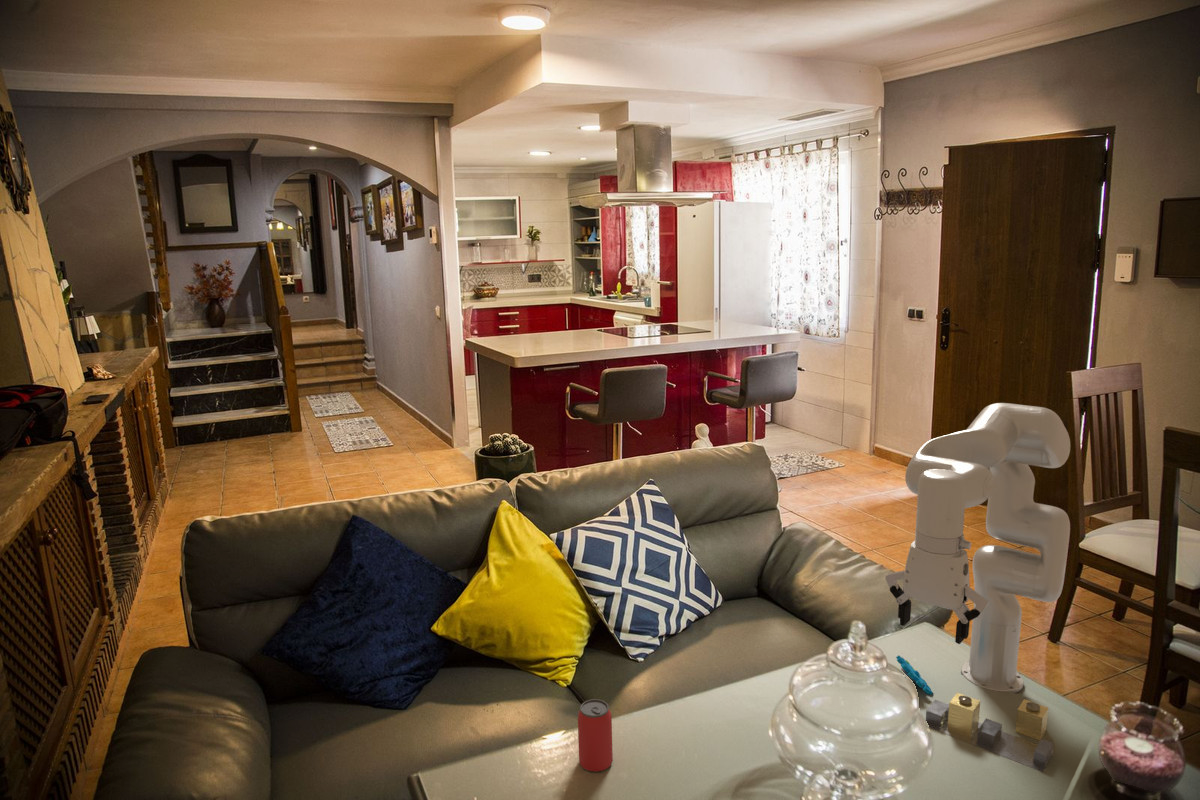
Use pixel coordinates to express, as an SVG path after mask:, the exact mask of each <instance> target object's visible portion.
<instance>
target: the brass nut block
mask: <svg viewBox="0 0 1200 800" xmlns="http://www.w3.org/2000/svg"><path fill="white" fill-rule="evenodd" d="M1049 709H1050V708H1049V706H1044V705H1042V704H1039V703H1037V702H1034V701H1030V700H1027V699H1023V700H1022V701H1021V702H1020V704H1019V706H1018V708H1017V710H1016V711H1017V712H1016V722H1015V732H1016V733H1019V734H1021V735H1024V736H1026V737H1030V738H1032V739H1036V740H1038V741H1040V740H1041V739H1043V737H1044V735H1045V733H1046V732H1047V726H1048V718H1049Z"/></svg>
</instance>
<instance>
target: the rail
mask: <svg viewBox="0 0 1200 800" xmlns="http://www.w3.org/2000/svg"><path fill="white" fill-rule="evenodd" d="M948 715H949V703H946V702H943V701H940V700H937V699H934V700H933V702H932V703H931V704H930V705H929V706H928V708H926V711H925V721H927V723H928V725H929V727H930V728H929V727H928V728H929V729H932V730H934V731H938V732H939V733H942V734H946V735H948V736H950V737H952V738H954V739H958V740H959V741H962V742H966V743H968V744H970V745H973V746H974V747H975V746H976V747H978V748H981V749H983V750H985V751H989V752H991V753H993V754H996V755H998V756H1001V757H1002V758H1006V759H1008V760H1011V761H1013V762H1016V763H1019V764H1021V765H1024V766H1027V767H1029V768H1032V769H1033V770H1035V771H1036V770H1037V771H1039V772H1042V773H1044V771H1045V769H1046V767H1047V765H1048V763H1049V761H1050V759H1051V757H1052V755H1053V753H1054V750H1053V748H1054V747H1053V745H1054V742H1052V741H1049V740H1046V739H1044V738H1042V739H1041V740H1039V743H1038V744H1037V743H1034V742H1032V741H1029V740H1026V739H1024V738H1022V737H1018V736H1015V735H1014V734H1010V733H1007V732H1006V731H1003V724H1002V723H1001V722H997V721H995V720H992V719H988V718H985V719H984V721H983V722H982V723H981V722H979V724H978V728H977V730H976V731H975V733H974V734H973V736H972V737H971V738H969V737H967V736H964V735H962V734H959V733H956V732H954V731H951V730H949V729H947V728H948Z"/></svg>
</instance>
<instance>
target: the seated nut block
mask: <svg viewBox="0 0 1200 800" xmlns="http://www.w3.org/2000/svg"><path fill="white" fill-rule="evenodd" d="M948 704H949V715H948V728H947V729H949V730H951V731H954V732H956V733H959V734H962V735H964V736H967V737H969V738H971V737H972V736H973V734H974V733H975V731H976V730H977V728H978V724H979V723H980V722H979V720H980V710H981V709H980V708H981V700H979V699H976V698H973V697H970V696H968V695H965V694H962V693H961V692H956V693H955V695H953V697H952V699H951V700H950V701H949V703H948Z"/></svg>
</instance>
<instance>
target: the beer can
mask: <svg viewBox="0 0 1200 800" xmlns="http://www.w3.org/2000/svg"><path fill="white" fill-rule="evenodd" d="M577 735H578V738H577V739H578V742H577V743H578V761H579V765H580V766H581V768H583V769H584V770H586V771H588V772H592V773H593V772H594V773H595V772H596V773H597V772H604V771H605V770H607V769H609V767H610V766H611V765H612V763H613V759H614V758H613V755H614V754H613V719H612V713H611V710H610V705H609V704H608V703H607V702H606V701H605V700H602V699H598V698H597V699H596V698H595V699H594V698H593V699H588V700H585V701H584V702H583V703H581V705H580V707H579V711H578V714H577Z"/></svg>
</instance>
